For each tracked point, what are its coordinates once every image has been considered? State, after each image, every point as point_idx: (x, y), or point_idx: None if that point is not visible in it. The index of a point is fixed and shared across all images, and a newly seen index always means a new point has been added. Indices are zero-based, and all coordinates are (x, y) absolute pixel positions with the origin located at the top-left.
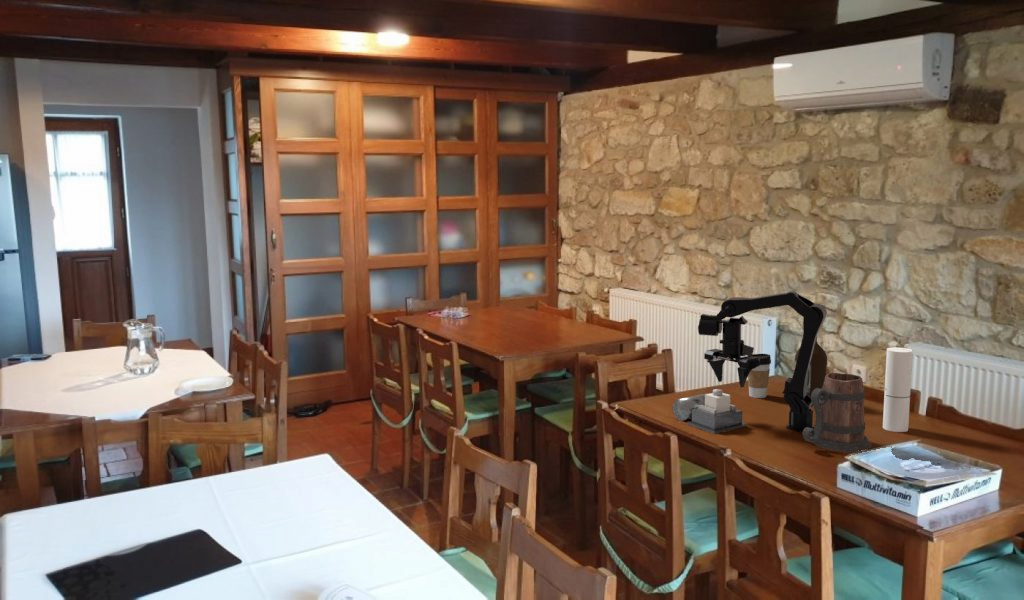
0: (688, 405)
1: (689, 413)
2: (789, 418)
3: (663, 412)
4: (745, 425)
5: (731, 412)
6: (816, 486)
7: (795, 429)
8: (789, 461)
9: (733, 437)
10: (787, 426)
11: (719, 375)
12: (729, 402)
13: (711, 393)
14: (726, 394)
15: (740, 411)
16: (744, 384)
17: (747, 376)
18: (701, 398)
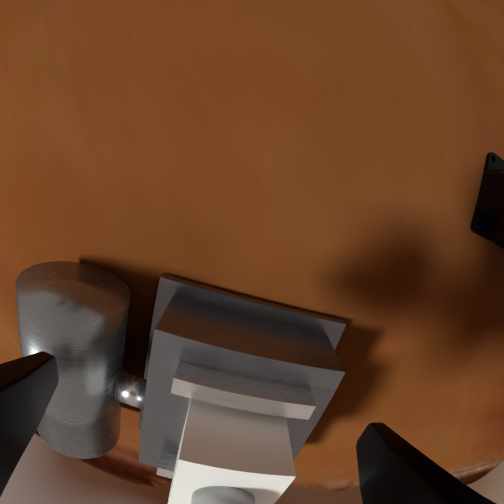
0: (101, 447)
1: (119, 428)
2: (497, 211)
3: (5, 341)
4: (341, 329)
5: (306, 424)
6: (492, 464)
7: (499, 246)
8: (475, 441)
9: (342, 437)
10: (478, 232)
11: (21, 427)
12: (287, 443)
13: (175, 494)
14: (265, 479)
15: (338, 383)
16: (399, 439)
17: (467, 493)
18: (74, 385)
